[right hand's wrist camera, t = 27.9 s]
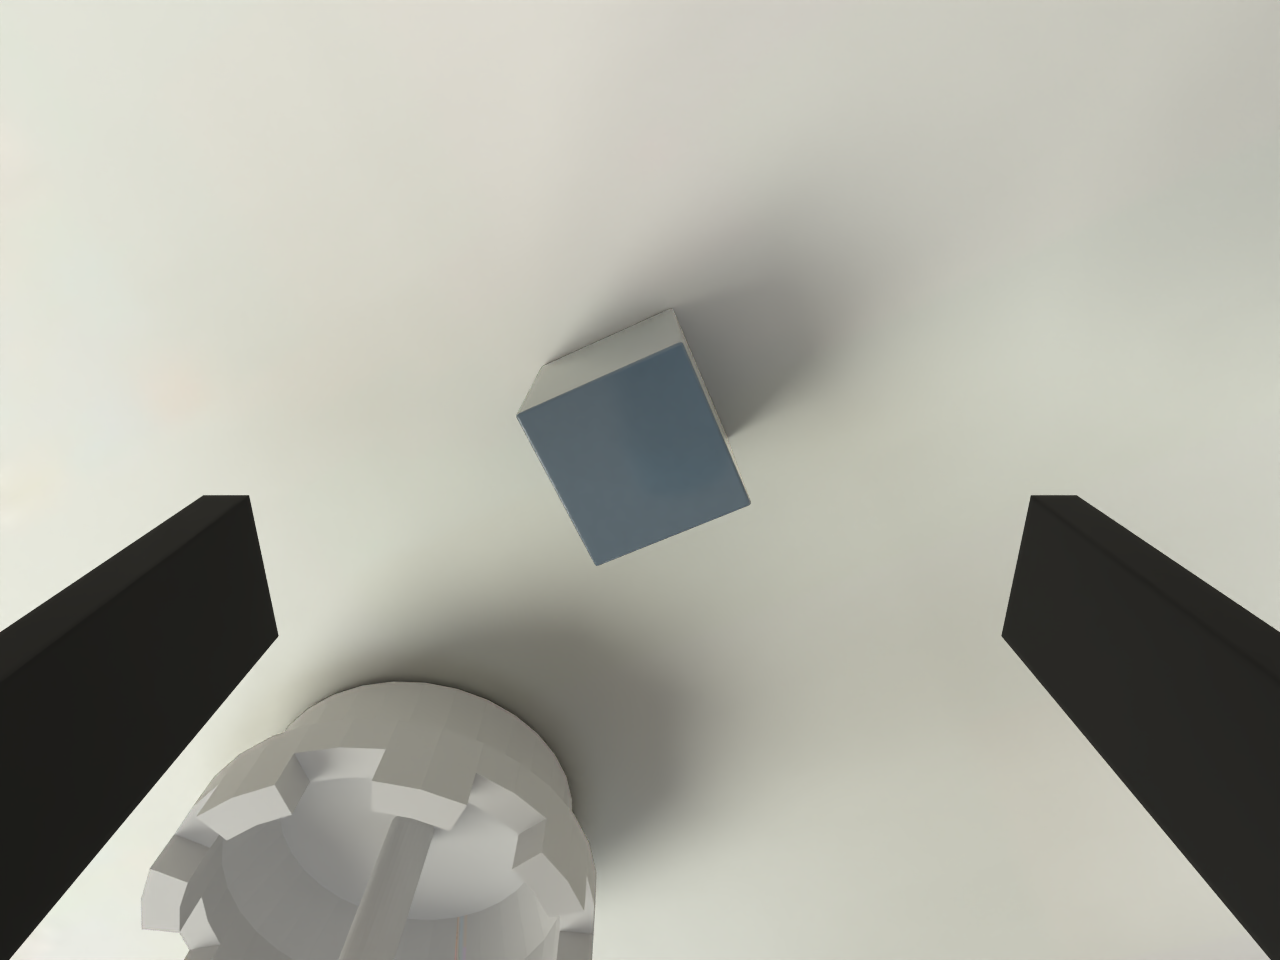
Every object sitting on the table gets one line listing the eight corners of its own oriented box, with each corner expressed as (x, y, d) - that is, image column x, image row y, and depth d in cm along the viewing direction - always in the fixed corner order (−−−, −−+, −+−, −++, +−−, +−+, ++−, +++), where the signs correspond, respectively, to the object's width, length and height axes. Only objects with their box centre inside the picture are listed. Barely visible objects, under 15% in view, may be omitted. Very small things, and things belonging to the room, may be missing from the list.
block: (728, 439, 21) (751, 505, 17) (603, 491, 22) (595, 567, 17) (672, 307, 20) (682, 341, 15) (540, 366, 20) (514, 415, 16)
